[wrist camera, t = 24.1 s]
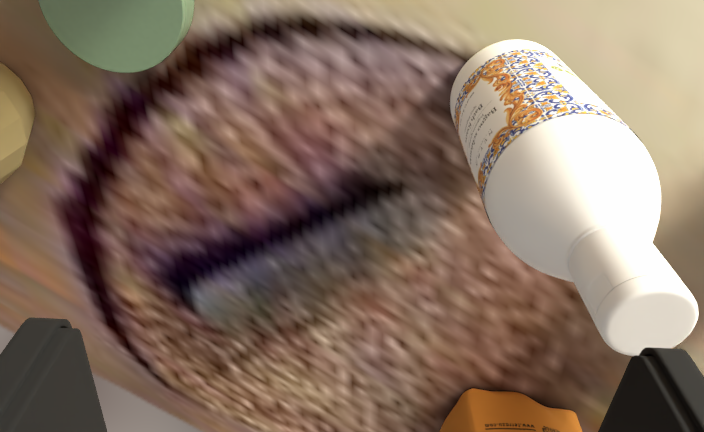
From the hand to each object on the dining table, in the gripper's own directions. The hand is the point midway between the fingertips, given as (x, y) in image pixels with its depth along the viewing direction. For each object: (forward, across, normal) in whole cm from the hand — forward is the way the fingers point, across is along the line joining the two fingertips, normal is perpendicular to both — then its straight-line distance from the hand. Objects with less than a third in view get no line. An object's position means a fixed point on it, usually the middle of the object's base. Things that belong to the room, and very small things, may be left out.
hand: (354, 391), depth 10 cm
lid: (+24, +13, -1) cm, 28 cm away
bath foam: (+26, -9, +4) cm, 28 cm away
